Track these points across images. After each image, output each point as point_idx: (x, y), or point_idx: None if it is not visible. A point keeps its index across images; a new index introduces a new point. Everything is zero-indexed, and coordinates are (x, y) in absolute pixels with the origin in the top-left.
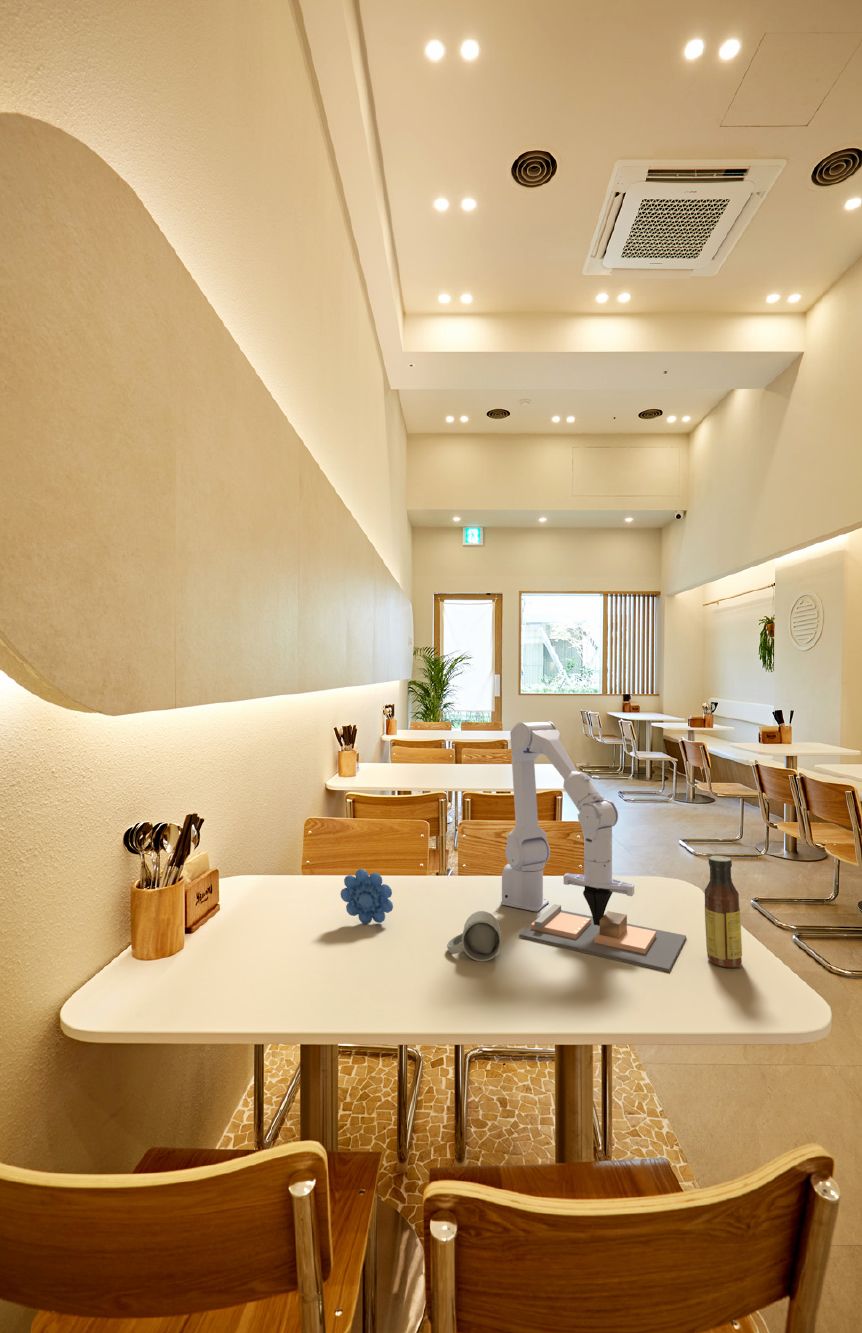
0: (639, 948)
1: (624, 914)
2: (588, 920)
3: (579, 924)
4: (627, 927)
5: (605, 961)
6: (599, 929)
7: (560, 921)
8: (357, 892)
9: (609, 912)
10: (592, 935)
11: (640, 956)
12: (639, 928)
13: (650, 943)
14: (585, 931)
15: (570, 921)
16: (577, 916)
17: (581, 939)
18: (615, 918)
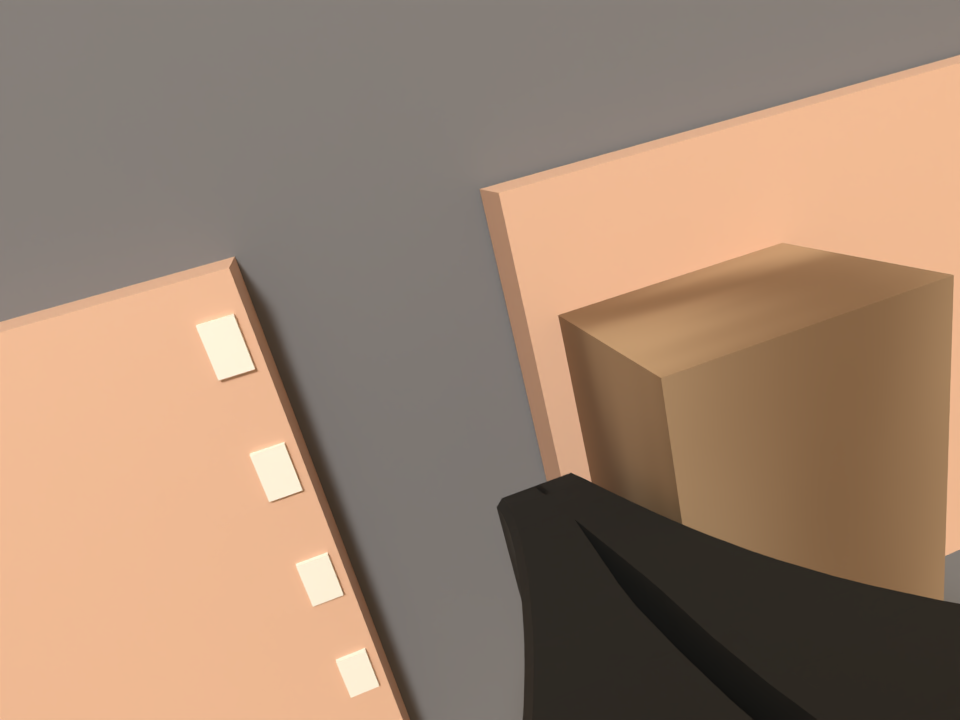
0: None
1: (924, 298)
2: (253, 362)
3: (268, 573)
4: (772, 187)
5: None
6: (448, 359)
7: (7, 707)
8: None
9: (711, 418)
10: (481, 551)
11: (950, 556)
12: (891, 98)
13: None
14: (366, 535)
15: (105, 600)
16: (9, 366)
17: (458, 704)
18: (858, 542)
